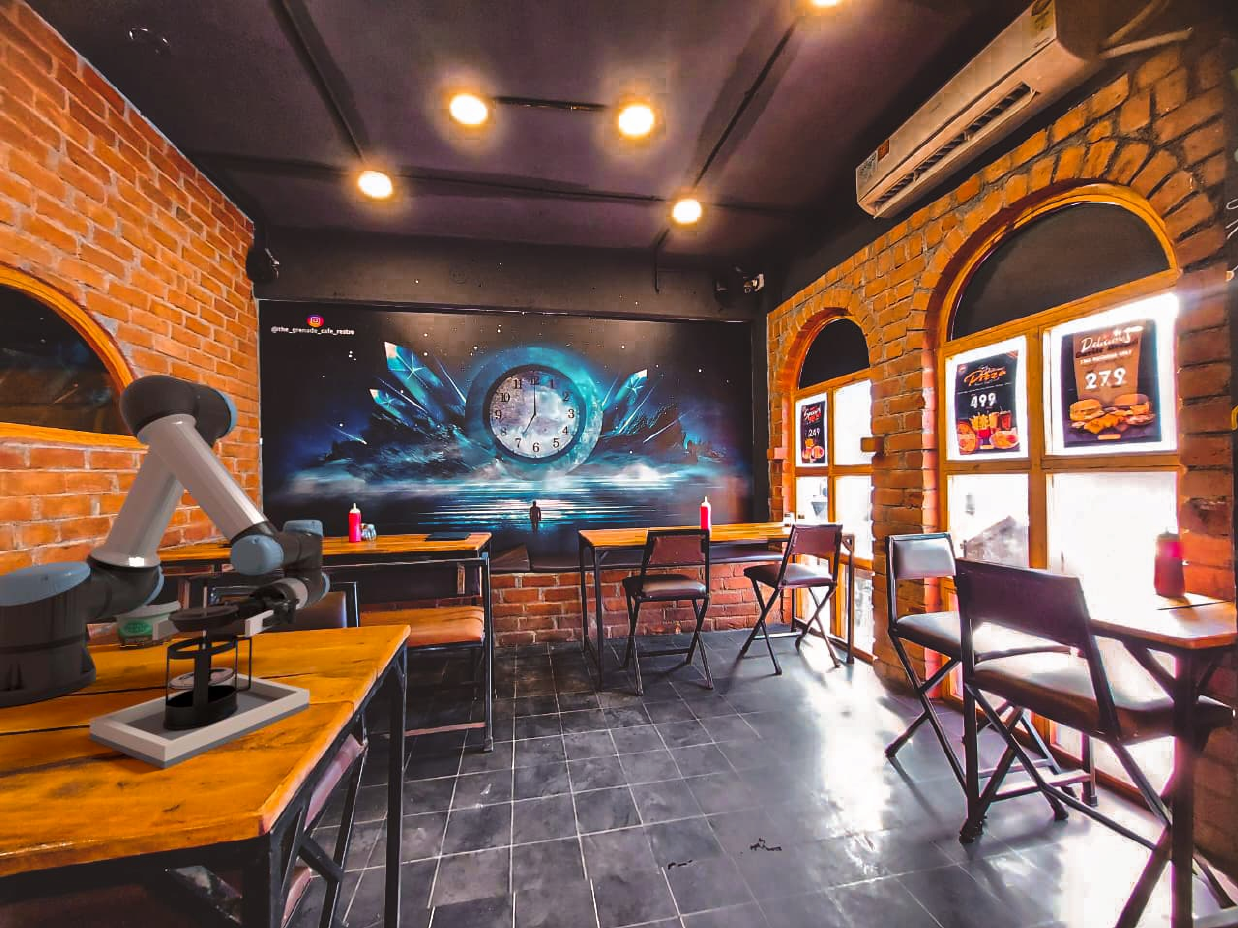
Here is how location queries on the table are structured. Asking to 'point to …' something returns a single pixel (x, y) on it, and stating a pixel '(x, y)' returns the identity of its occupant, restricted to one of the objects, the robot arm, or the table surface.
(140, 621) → the food container
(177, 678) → the french press
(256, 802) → the table surface
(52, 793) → the table surface
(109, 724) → the serving tray
